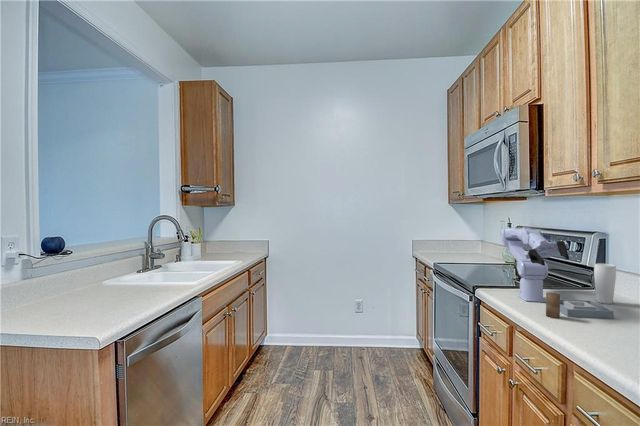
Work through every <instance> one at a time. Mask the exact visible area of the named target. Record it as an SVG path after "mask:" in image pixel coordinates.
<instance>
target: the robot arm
mask: <svg viewBox="0 0 640 426" xmlns="http://www.w3.org/2000/svg"><path fill="white" fill-rule="evenodd" d="M499 240H500V243H501V244H502V245H503V247H506V248H507V250H508V252H509V253H510V255H511V256H512V257H513V258H514V259H515V261H516V270H517V273H518V275H519V276H520V277H521V278H520V280H519V293H518V294H517V296H518V297H519V298H521V299H522V300H523V301H525V302H533V303H534V302H535V303H536V302H537V303H539V302H540V303H546V298H543V297H544V294H543V293H544V280H545V278H546V277H548V275H549V265H548V264H547V263H546V261H545V260H544V259H548V258H550V257H552V256H553V255H556V254H558V253H559V255H560V257H563V258H564V259H565V260H570V257H569V256H570V255H569V254H568V250H569V249H570V246H569V243H568V242H567V241H564V240H560V241H557V242H555V241H554V242H553V241H552V242H551V241H550V242H549V241H548V239H546V238H545V237H544V235H543V231H542V230H541V229H533V228H531V227H528V226H523V227H522V228H518V227H517V228H515V227H514V228H513V227H512V228H502V229H501V230H500V231H499ZM526 245H529V246H530V247H531V249H529V250H528V251H526V250H525V249H524V247H526Z"/></svg>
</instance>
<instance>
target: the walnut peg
mask: <svg viewBox="0 0 640 426" xmlns="http://www.w3.org/2000/svg"><path fill="white" fill-rule="evenodd" d="M560 299H561V294H560V293H558V292H552V291H551V292H550V291H548V292H546V293H545V300H546V302H545V316H546V317H547V318H549V317H550V319H556V318H557V319H560V318H561V312H560Z"/></svg>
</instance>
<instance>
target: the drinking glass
mask: <svg viewBox="0 0 640 426" xmlns="http://www.w3.org/2000/svg"><path fill="white" fill-rule="evenodd" d="M593 276H594V277H593V278H594V287H595V288H594V289H595V300H596V302H597V303H598V304H604V305H612V304H614V297H615V296H614V295H615V289H616V279H617V266H616V265H615V264H611V263H609V264H608V263H594V265H593Z"/></svg>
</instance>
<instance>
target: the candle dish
mask: <svg viewBox="0 0 640 426" xmlns="http://www.w3.org/2000/svg"><path fill="white" fill-rule="evenodd" d="M560 314H562V315H564V316H566V317H570V318H589V319H592V318H593V319H612V320H613V319H615V318H614V314H615V311H613V310H611V309H609V308H607V307H605V306H604V305H600V303H598V302H597V303H596V302H594V301H593V300H590V299H589V300H587V299H586V300H585V299H566V298H565V299H561V298H560Z"/></svg>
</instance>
